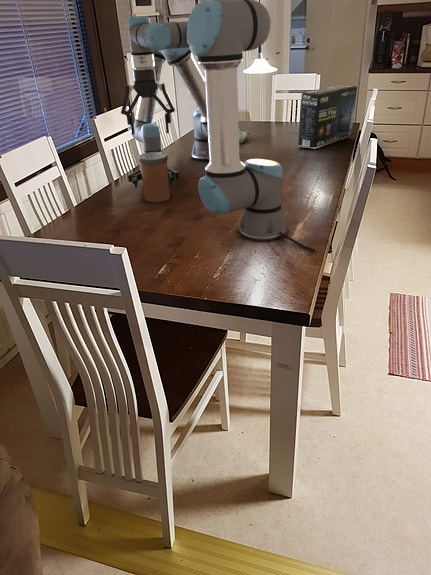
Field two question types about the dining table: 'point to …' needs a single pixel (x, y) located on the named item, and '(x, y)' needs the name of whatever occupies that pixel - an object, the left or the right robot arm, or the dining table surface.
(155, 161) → the lid
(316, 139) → the router box
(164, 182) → the jar
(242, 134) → the fossil
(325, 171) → the dining table surface
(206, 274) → the dining table surface
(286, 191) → the dining table surface
